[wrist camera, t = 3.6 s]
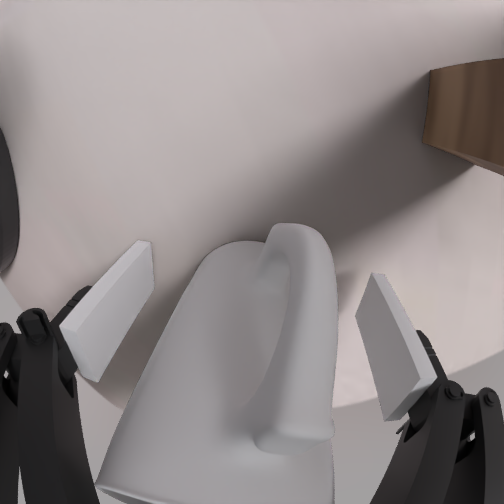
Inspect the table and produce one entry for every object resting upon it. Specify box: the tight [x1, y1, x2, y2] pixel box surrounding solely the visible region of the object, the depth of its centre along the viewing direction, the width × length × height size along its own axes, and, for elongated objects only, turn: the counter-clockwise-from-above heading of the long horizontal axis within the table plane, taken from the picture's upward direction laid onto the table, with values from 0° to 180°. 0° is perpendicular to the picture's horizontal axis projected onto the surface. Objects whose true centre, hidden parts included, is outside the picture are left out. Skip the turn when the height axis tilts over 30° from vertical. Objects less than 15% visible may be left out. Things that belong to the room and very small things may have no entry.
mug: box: [94, 223, 338, 504], centre depth 9 cm, size 10×7×12 cm, turn 160°
